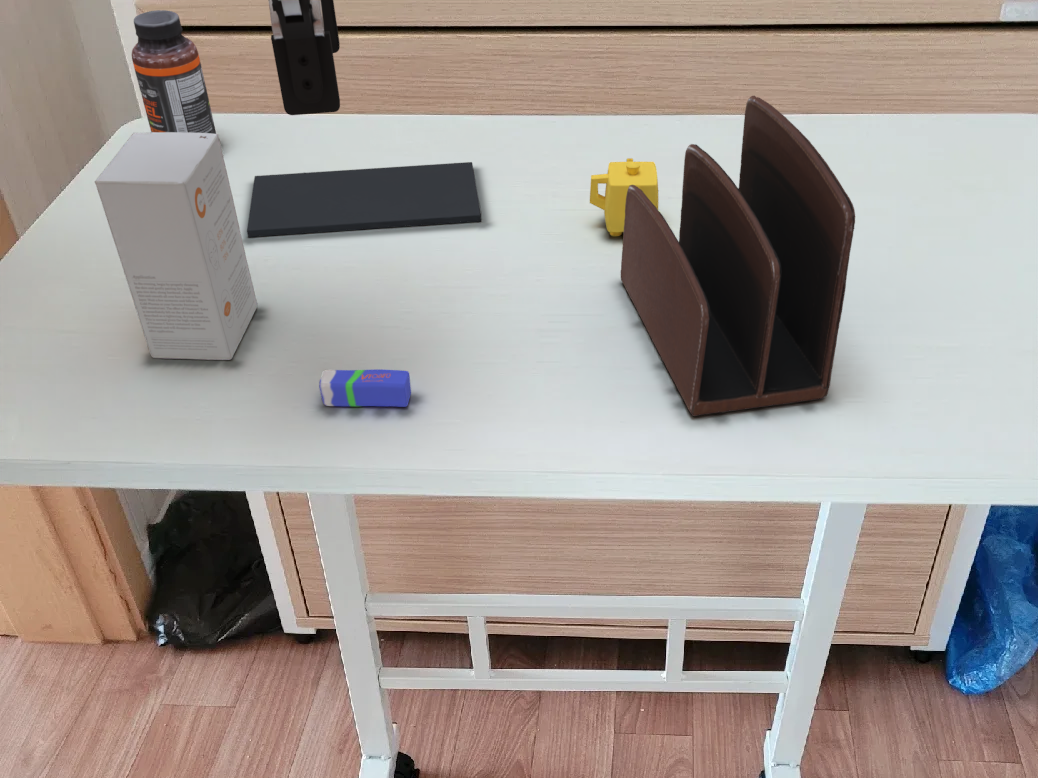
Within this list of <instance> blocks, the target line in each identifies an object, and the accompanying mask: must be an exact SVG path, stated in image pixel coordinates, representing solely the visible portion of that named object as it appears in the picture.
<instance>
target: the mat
mask: <svg viewBox="0 0 1038 778" xmlns="http://www.w3.org/2000/svg"><path fill="white" fill-rule="evenodd" d="M474 171H475V170H474V165H473V162H472V161H467V162H466V161H465V162H451V163H450V162H449V163H435V164H421V165H419V164H418V165H406V166H405V165H403V166H388V167H374V168H373V167H372V168H359V169H357V168H356V169H340V170H328V171H327V170H325V171H310V172H295V173H281V174H280V173H278V174H266V175H265V174H264V175H254V179H253V186H252V192H251V200H250V206H249V213H248V222H247V229H246V233H247V237H248V238H254V237H255V238H257V237H271V236H285V235H299V234H316V233H328V232H331V233H332V232H345V231H359V230H375V229H376V230H377V229H389V228H405V227H418V226H431V225H432V226H434V225H435V226H436V225H449V224H462V223H463V224H464V223H479V222H482V214H481V207H480V201H479V194H478V189H477V183H476V177H475V172H474Z"/></svg>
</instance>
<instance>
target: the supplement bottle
mask: <svg viewBox="0 0 1038 778" xmlns="http://www.w3.org/2000/svg"><path fill="white" fill-rule="evenodd" d="M133 26H134V29H135V35H136V36H137V43H136V44H135V45H134V46H133V48H132V49H131V60H132V65H133V69H134V72H135V76H136V80H137V83H138V88H139V92H140V95H141V99H142V102H143V106H144V111H145V115H146V117H147V121H148V125H149V129H150V132H188V133H212V134H217V131H216V130H217V129H216V127H215V126H216V125H215V122H214V117H213V113H212V108H211V104H210V99H209V94H208V89H207V85H206V80H205V75H204V72H203V67H202V63H201V59H200V53H199V51H198V48H197V46H196V44H195V43H194V42H193V40H191V39H190V38H188V37H186V36H184V35H183V34H182V32H183V27H182V24H181V20H180V16H179V14H178V13H177V12H175V11H172V10H165V9H163V10H160V9H157V10H149V11H145V12H143V13H142V12H141V13H140V14H138V15H136V16H135V17H134V18H133Z"/></svg>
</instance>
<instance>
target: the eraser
mask: <svg viewBox="0 0 1038 778" xmlns="http://www.w3.org/2000/svg"><path fill="white" fill-rule="evenodd" d="M410 378H411V376H410V372H409V371H408V370H401V369H382V368H381V369H380V368H379V369H378V368H377V369H324V370H323V371H322V374H321V377H320V379H319V382H318V383H319V385H318V387H319V388H318V389H319V393H320V397H321V401H322V404H323V405H324V406H327V407H397V408H406V407H408V405H409V402H410V399H411V394H412V388H411V387H412V386H411V379H410Z"/></svg>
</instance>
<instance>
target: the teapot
mask: <svg viewBox="0 0 1038 778" xmlns="http://www.w3.org/2000/svg"><path fill="white" fill-rule="evenodd" d="M599 184H601V185H602V184H605V191H604V195H602V194H600V193H599ZM630 185H635V186H636V187H638V188H639V189H641V190H642V191H643V192H644V194H645V195H646V196H647V197H648V199H649V200H650V201H651V202H652V203H653V204H654V206H655V207H656V208H657V210H658V211H659V180H658V172H657V166H656V163H655V162H654V161H634V158H632V157H631V158H628V157H627V158H626V160H625V161H610V162H609V163H608V167H607V173H601V174H591V175H590V189H589V204H591V205H593V206H595V207H597V208H599V209H601V210H603V211H604V212H603V213H604V220H605V225H606V231H607V232H608V233H609V235H610V236H611V237H620V236H621V235H622V234H623V233H624V220H625V204H626V196H627V191H628V188H629V186H630Z"/></svg>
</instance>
